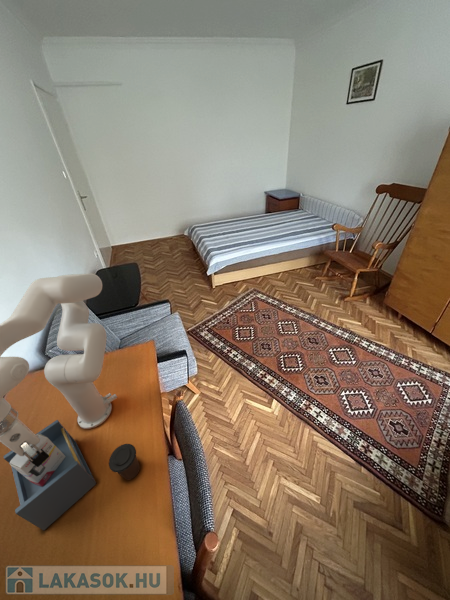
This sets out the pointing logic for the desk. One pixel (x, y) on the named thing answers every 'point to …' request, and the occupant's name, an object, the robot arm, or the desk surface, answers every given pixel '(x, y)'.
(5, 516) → the desk surface
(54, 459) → the ink box
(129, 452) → the coffee cup
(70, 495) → the shelf
